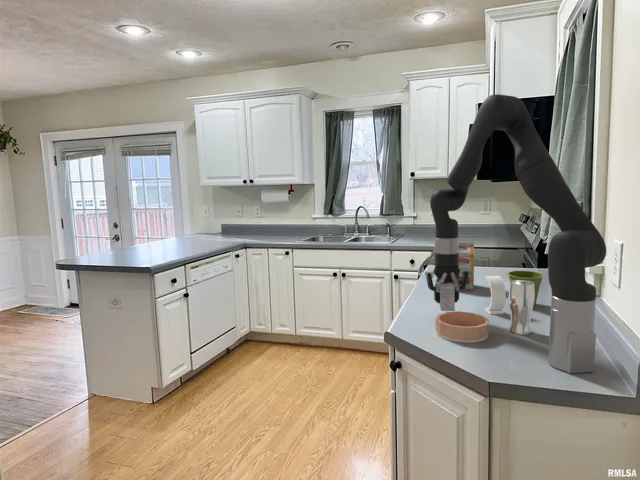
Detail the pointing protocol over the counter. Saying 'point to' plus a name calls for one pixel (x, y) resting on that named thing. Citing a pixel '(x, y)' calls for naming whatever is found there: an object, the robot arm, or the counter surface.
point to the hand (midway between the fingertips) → (446, 301)
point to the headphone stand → (496, 295)
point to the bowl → (462, 327)
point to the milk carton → (467, 264)
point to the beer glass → (521, 306)
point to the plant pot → (528, 279)
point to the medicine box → (447, 297)
